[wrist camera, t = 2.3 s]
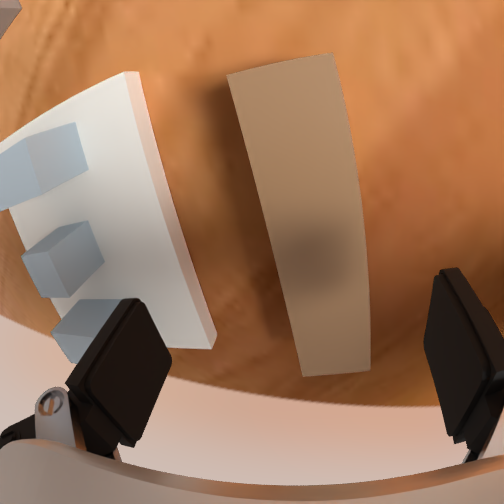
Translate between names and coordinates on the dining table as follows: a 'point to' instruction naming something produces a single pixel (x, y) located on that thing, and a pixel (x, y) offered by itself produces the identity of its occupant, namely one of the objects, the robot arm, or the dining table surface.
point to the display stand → (101, 218)
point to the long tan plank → (310, 206)
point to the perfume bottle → (8, 13)
